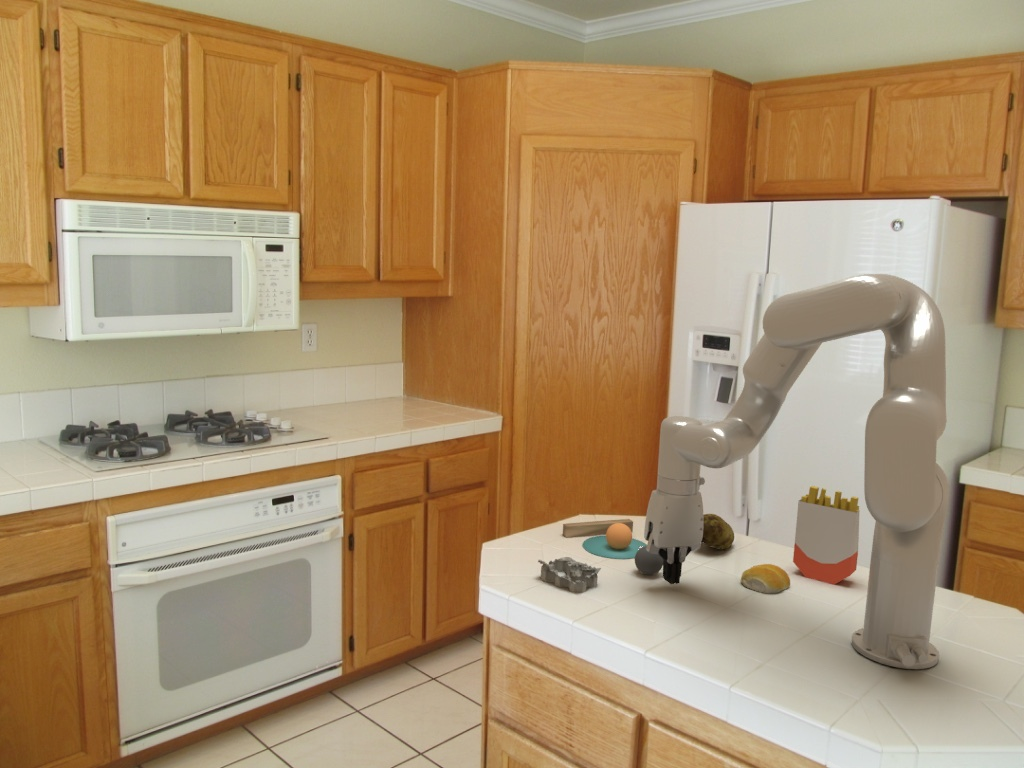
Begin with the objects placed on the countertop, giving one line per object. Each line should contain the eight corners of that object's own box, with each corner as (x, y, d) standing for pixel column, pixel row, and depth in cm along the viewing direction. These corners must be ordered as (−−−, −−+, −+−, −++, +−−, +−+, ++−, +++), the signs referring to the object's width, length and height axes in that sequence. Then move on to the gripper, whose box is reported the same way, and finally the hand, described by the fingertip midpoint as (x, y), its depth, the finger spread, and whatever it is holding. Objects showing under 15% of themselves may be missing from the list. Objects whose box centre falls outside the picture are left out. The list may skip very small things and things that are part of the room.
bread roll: (795, 586, 160) (797, 566, 160) (774, 598, 154) (775, 577, 153) (755, 573, 166) (757, 554, 165) (733, 585, 159) (734, 565, 159)
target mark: (651, 561, 170) (651, 560, 170) (581, 556, 171) (582, 555, 171) (647, 538, 183) (647, 537, 183) (583, 534, 185) (583, 533, 185)
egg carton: (534, 579, 159) (535, 559, 158) (561, 570, 164) (562, 550, 163) (576, 597, 151) (577, 575, 150) (603, 586, 156) (604, 565, 156)
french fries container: (799, 567, 169) (807, 480, 167) (855, 581, 163) (864, 491, 160) (791, 573, 166) (799, 485, 163) (848, 588, 159) (858, 496, 157)
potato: (749, 548, 180) (752, 511, 179) (712, 560, 172) (715, 522, 171) (717, 537, 186) (720, 502, 185) (680, 548, 178) (682, 511, 177)
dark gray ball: (643, 545, 167) (648, 574, 166) (626, 549, 163) (631, 578, 162) (666, 542, 163) (671, 571, 162) (649, 546, 159) (655, 575, 158)
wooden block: (632, 532, 187) (633, 521, 187) (566, 537, 182) (566, 526, 182) (628, 529, 189) (629, 518, 189) (562, 534, 184) (563, 523, 184)
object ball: (617, 519, 179) (617, 544, 180) (600, 523, 176) (600, 548, 176) (638, 523, 175) (637, 549, 176) (621, 527, 172) (620, 554, 172)
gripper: (702, 477, 159) (695, 570, 161) (631, 481, 154) (625, 577, 156) (725, 488, 152) (717, 585, 154) (651, 493, 147) (644, 593, 149)
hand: (671, 581), depth 155 cm, fingers closed
